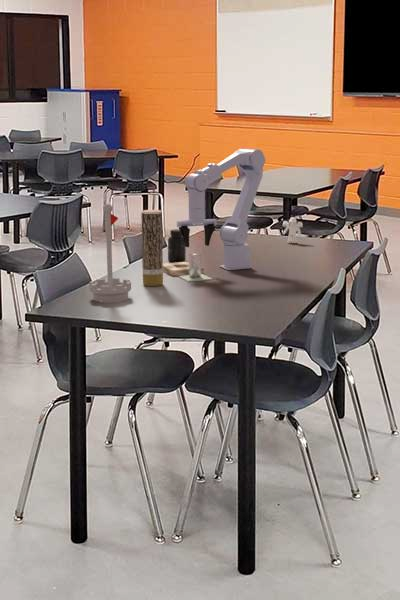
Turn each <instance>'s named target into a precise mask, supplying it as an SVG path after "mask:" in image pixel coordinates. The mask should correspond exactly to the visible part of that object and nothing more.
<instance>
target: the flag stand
mask: <svg viewBox="0 0 400 600" xmlns="http://www.w3.org/2000/svg"><path fill="white" fill-rule="evenodd" d="M102 210H103V212H104V213H105V234H106V235H105V236H106V239H105V241H106V263H107V264H106V265H107V267H106V268H107V271H106V272H107V281H106V279H105V278H102V277H101V278H97V279H96V280H91V281H90V282H89V291H90V292H91V293H92V300H93V299H94V300H93V301H95V300H96V301H95V302H97V301H102V302H101V303H119V302H124V301H126V300H129V292H130V291H131V290H132V282H131V280H130V279H127V278H124V279H123V280H122V281H120V278H119V277H113V254H112V253H113V252H112V250H113V249H112V226H113V224H115V222H116V221H118V220H119V217H118V216H116V215H114V214H113V213H112V212H113V205H112V204H110V203H106V204H104V206H103V208H102Z"/></svg>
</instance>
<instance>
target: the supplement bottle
mask: <svg viewBox="0 0 400 600" xmlns="http://www.w3.org/2000/svg"><path fill="white" fill-rule="evenodd" d="M169 231H170V233H169V237H168V239H167V261H168V262H169V263H177V262H186V259H187V258H186V256H187V255H186V253H187V252H186V250H187V249H186V248H187V247H185V243H184V239H183V236H182V234H181V232H180V230H179V228H178V229H171V230H169Z"/></svg>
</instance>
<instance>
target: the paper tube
mask: <svg viewBox="0 0 400 600" xmlns="http://www.w3.org/2000/svg"><path fill="white" fill-rule="evenodd" d="M140 219H141V251H142V252H141V253H142V254H141V255H142V256H141V258H142V260H141V261H142V285H143V286H145V287H160V286H162V285H163V283H164V272H163V264H164V261H163V260H164V259H163V255H164V254H163V211H162V210H161V209H144V210H143V209H142V210H141V218H140Z"/></svg>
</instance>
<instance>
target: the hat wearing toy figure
mask: <svg viewBox="0 0 400 600" xmlns="http://www.w3.org/2000/svg"><path fill="white" fill-rule="evenodd" d="M300 217H301V216H300V215H299V214H298V215H295V216H291V217H290V219H289V220H284V221H282V222H283V223H282V227H284V230H283V232H282V234H283V235H285V234H287V232H288V237H287V242H288V241H292V242H293V241H297V242H298V240H297V235H298V237H301V235H302V232H301V228H303V222H302V221H297V220H298V219H299V218H300Z"/></svg>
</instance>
